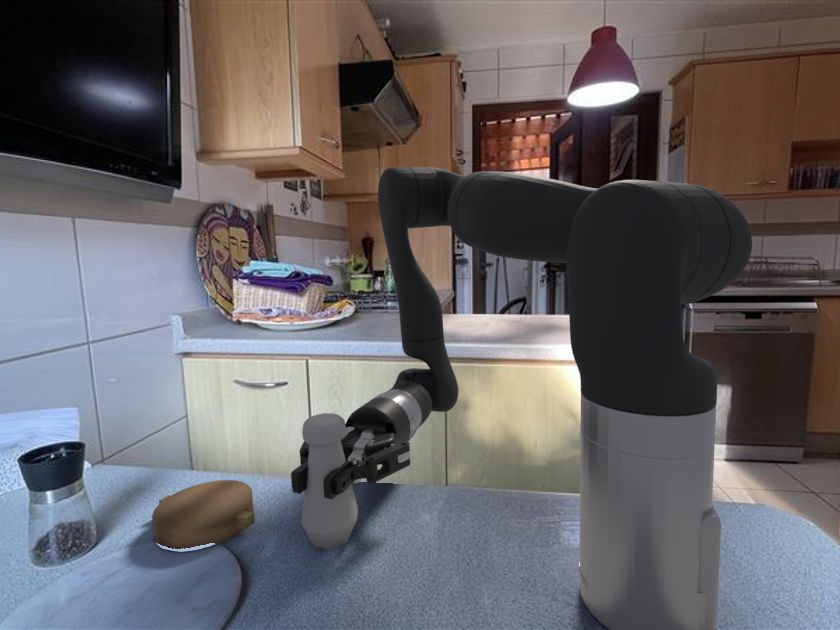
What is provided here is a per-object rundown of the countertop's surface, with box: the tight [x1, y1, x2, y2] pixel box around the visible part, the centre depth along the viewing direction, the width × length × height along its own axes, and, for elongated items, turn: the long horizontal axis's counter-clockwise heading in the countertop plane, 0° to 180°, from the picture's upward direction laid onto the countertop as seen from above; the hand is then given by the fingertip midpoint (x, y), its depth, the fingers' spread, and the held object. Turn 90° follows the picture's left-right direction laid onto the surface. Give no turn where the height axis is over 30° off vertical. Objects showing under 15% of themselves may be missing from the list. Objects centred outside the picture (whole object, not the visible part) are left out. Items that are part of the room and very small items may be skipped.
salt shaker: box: [300, 412, 359, 551], centre depth 45 cm, size 6×6×13 cm
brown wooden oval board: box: [151, 479, 256, 549], centre depth 49 cm, size 13×10×2 cm
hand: (311, 486), depth 42 cm, fingers open, 3 cm apart
